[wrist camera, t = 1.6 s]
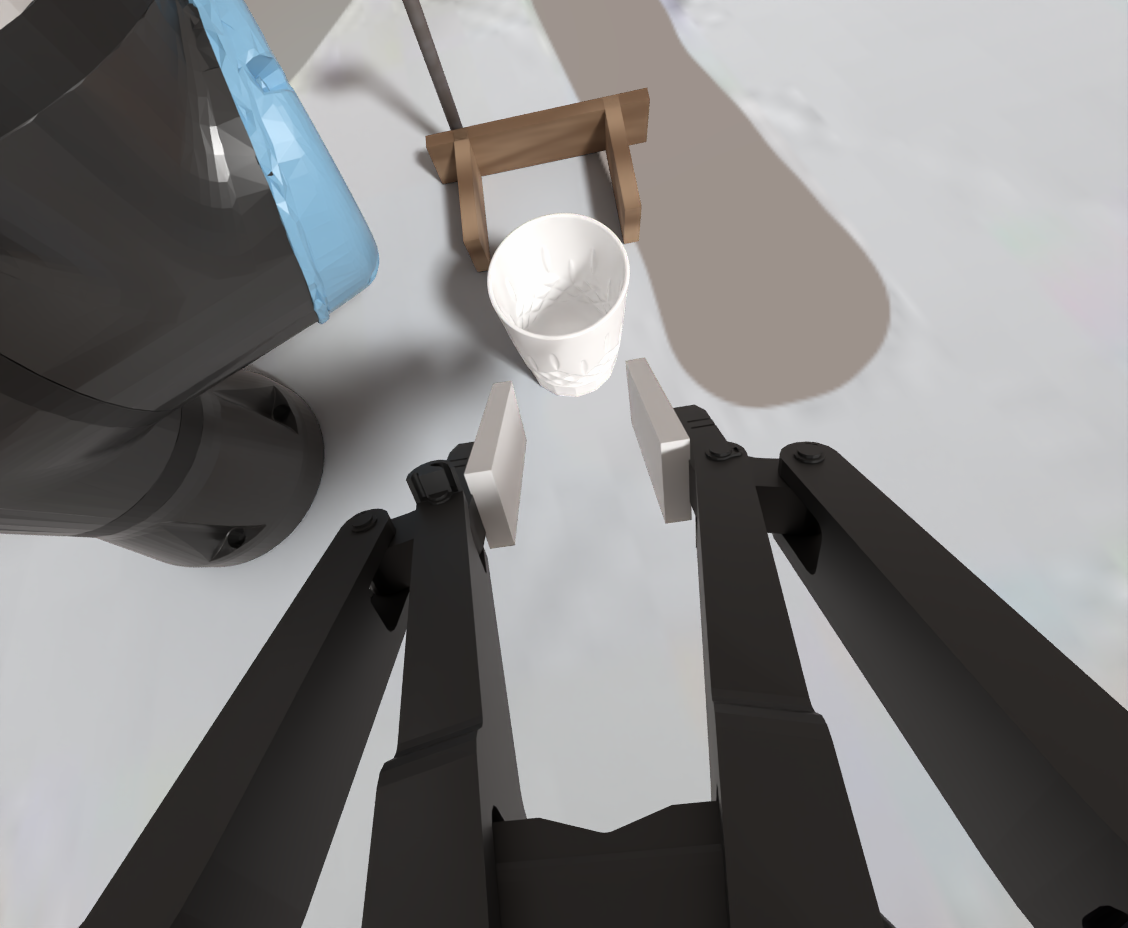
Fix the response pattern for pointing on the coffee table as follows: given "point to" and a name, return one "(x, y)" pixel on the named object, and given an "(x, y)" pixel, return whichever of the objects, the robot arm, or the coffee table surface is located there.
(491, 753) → the robot arm
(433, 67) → the wooden cup stand
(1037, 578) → the coffee table surface
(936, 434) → the coffee table surface
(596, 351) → the white cup
